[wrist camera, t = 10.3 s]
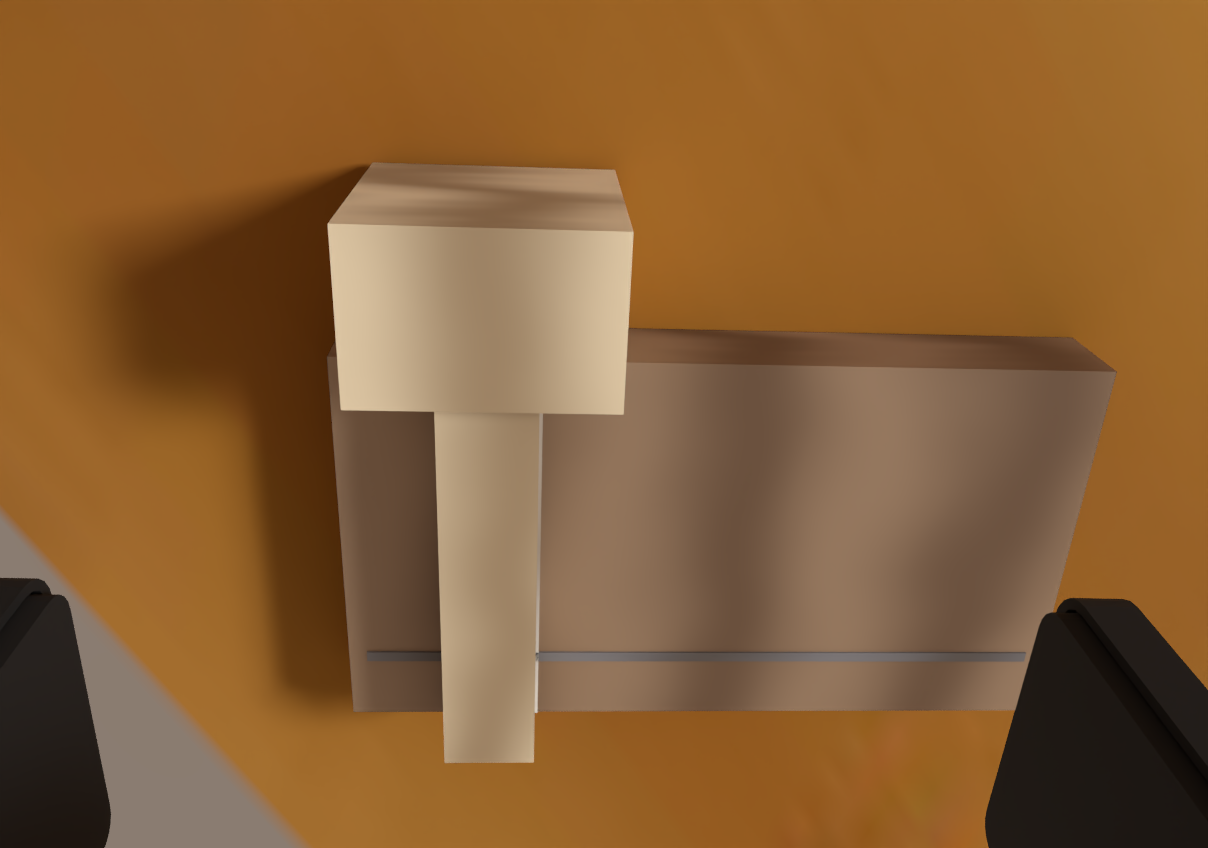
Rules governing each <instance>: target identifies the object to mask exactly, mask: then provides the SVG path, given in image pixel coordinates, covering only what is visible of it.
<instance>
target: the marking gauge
mask: <svg viewBox="0 0 1208 848" xmlns="http://www.w3.org/2000/svg"><path fill="white" fill-rule="evenodd" d="M328 238H329V252H330V266H331V280H332V294H333V308H334V322H335V336H336V350H337V365H338V379H339V393H340V407H341V410H357V411H420V412H434V423H435V456H436V490H437V523H438V556H439V590H440V623H441V657H442V690H443V724H444V757H445V763H515V762H534V716H535V656H536V597H537V537H538V477H539V417H540V413H546V414H610V415H624V399H625V380H626V362H627V343H628V325H629V306H630V287H631V269H632V250H633V229H632V225H631V222H630V219H629V215H628V212H627V209H626V205H625V202H624V199H623V195H622V192H621V188H620V185H619V182H618V178H617V175H616V172H615V170H599V169H567V168H534V167H502V166H469V165H437V164H405V163H372V164H371V165H370V167H369V168H368V170H367V171H366V172H365V174H364V175H363V176H362V178H361V179H360V180H359V182H358V183H357V184H356V186H355V187H354V188H353V190H352V191H351V193H350V194H349V195H348V197H347V198H346V199H345V201H344V202H343V203H342V205H341V206H340V207H339V209H338V210H337V211H336V213H335V214H334V216H333V217H332V218H331V220H330V221H329V222H328Z"/></svg>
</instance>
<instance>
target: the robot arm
mask: <svg viewBox="0 0 1208 848" xmlns="http://www.w3.org/2000/svg"><path fill="white" fill-rule="evenodd" d="M110 819H111V812H110V804H109V799H108V793H107V788H106V784H105V779H104V774H103V769H102V764H101V759H100V754H99V749H98V744H97V739H96V734H95V729H94V724H93V720H92V714H91V709H90V705H89V699H88V694H87V689H86V684H85V679H84V675H83V669H82V665H81V660H80V655H79V650H78V645H77V640H76V635H75V630H74V625H73V620H72V615H71V610H70V607H69V603H68V601H67V600H66V598H65V597H64V596H62V595H52V594H51V591H50V588H49V587H48V586H47V584H46V583H45V581H42V580H40V579H27V578H25V579H24V578H0V848H104V847H105V845H106V842H107V838H108V834H109V829H110ZM985 829H986V838H987V842H988V846H989V848H1208V690H1207V689H1206V687H1205V686H1204V685H1203V684H1202V683H1201V681H1200V680H1199V679H1198V678H1197V677H1196V676H1195V674H1194V673H1193V672H1192V671H1191V670H1190V669H1189V667H1188V666H1187V665H1186V664H1185V663H1184V661H1183V660H1182V659H1181V658H1180V657H1179V656H1178V654H1177V653H1176V652H1175V651H1174V650H1173V648H1172V647H1171V646H1170V645H1169V644H1168V643H1167V641H1166V640H1165V639H1164V638H1163V637H1162V636H1161V634H1160V633H1159V632H1158V631H1157V630H1156V628H1155V627H1154V626H1153V625H1152V624H1151V623H1150V621H1149V620H1148V619H1147V618H1146V617H1145V615H1144V614H1143V613H1142V612H1141V611H1140V610H1139V608H1138V607H1137V606H1135V605H1134V604H1133V603H1132V602H1131V601H1128V600H1124V599H1091V598H1069V599H1067V600H1064V601H1063V602H1062V603H1061V604H1060V606H1059V607H1058V609H1057V612H1056V613H1048V614H1046V615H1045V616H1044V617H1043V618H1042V620H1041V623H1040V625H1039V628H1038V632H1037V635H1036V639H1035V642H1034V646H1033V649H1032V653H1031V656H1030V660H1029V663H1028V667H1027V670H1026V674H1025V677H1024V681H1023V684H1022V688H1021V691H1020V695H1019V698H1018V702H1017V706H1016V709H1015V713H1014V716H1013V720H1012V723H1011V727H1010V730H1009V734H1008V737H1007V741H1006V744H1005V748H1004V751H1003V755H1002V758H1001V762H1000V765H999V769H998V772H997V776H996V779H995V783H994V786H993V790H992V793H991V797H990V801H989V804H988V808H987V812H986V817H985Z"/></svg>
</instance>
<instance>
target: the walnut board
mask: <svg viewBox="0 0 1208 848" xmlns="http://www.w3.org/2000/svg"><path fill="white" fill-rule="evenodd" d="M327 365H328V378H329V391H330V404H331V418H332V431H333V444H334V457H335V471H336V484H337V497H338V511H339V524H340V537H341V550H342V564H343V577H344V590H345V603H346V617H347V630H348V643H349V656H350V670H351V683H352V696H353V709H354V712H443V690H442V657H441V623H440V590H439V556H438V523H437V490H436V456H435V423H434V412H420V411H357V410H341V407H340V393H339V379H338V365H337V350H336V340H335V342H334V344H333V346H332V348H331V350H330V352H329V354H328V356H327ZM1116 373H1117V372H1116V371H1115V370H1114V369H1112V368H1111V367H1110V366H1109V365H1107V364H1106V363H1105V362H1103V361H1102V360H1101V359H1099V358H1098V357H1097V356H1096V355H1094V354H1093V353H1092V352H1090V351H1089V350H1088V349H1086V348H1085V347H1084V346H1083V345H1081V344H1080V343H1079V342H1077V341H1076V340H1075V339H1073V338H1061V337H1014V336H966V335H919V334H872V333H825V332H777V331H730V330H683V329H636V328H628V343H627V362H626V380H625V399H624V415H610V414H546V413H540V417H539V477H538V537H537V597H536V656H535V713H537V711H876V710H1015V709H1016V706H1017V702H1018V698H1019V695H1020V691H1021V688H1022V684H1023V681H1024V677H1025V674H1026V670H1027V667H1028V663H1029V660H1030V656H1031V653H1032V649H1033V646H1034V642H1035V639H1036V635H1037V632H1038V628H1039V625H1040V623H1041V620H1042V618H1043V617H1044V616H1045V615H1046V614H1048V613H1052V612H1053V609H1054V605H1055V601H1056V598H1057V594H1058V590H1059V586H1060V583H1061V579H1062V575H1063V571H1064V568H1065V564H1066V560H1067V556H1068V553H1069V549H1070V545H1071V541H1072V538H1073V534H1074V530H1075V526H1076V523H1077V519H1078V515H1079V511H1080V508H1081V504H1082V500H1083V496H1084V493H1085V489H1086V485H1087V481H1088V478H1089V474H1090V470H1091V466H1092V463H1093V459H1094V455H1095V451H1096V448H1097V444H1098V440H1099V436H1100V433H1101V429H1102V425H1103V421H1104V418H1105V414H1106V410H1107V406H1108V403H1109V399H1110V395H1111V391H1112V388H1113V384H1114V380H1115V377H1116Z"/></svg>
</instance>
